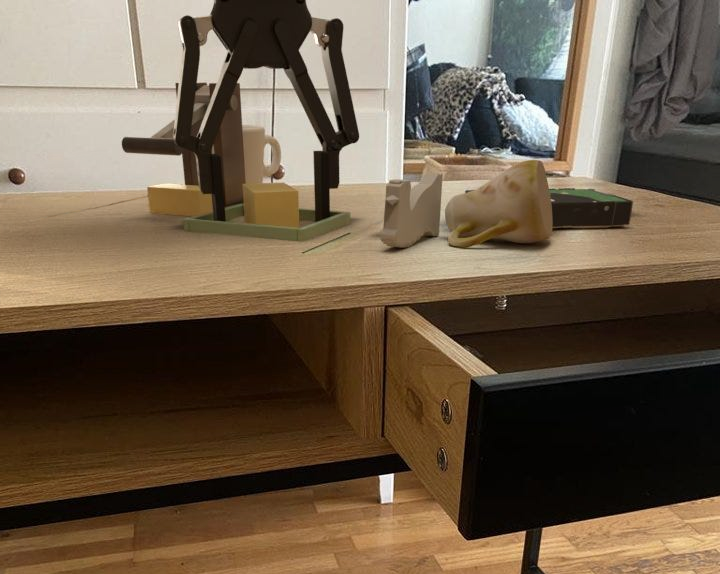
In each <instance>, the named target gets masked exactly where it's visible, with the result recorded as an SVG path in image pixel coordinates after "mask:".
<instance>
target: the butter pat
mask: <svg viewBox="0 0 720 574" xmlns="http://www.w3.org/2000/svg"><path fill="white" fill-rule="evenodd" d="M299 199H300V198H299V190H298V189H296V188H294V187H293V186H291V185H289V184H287V183H285V182H262V183H252V184H243V200H244V216H243V217H244V223H248V224H260V225H272V226H284V227H296V228H300V220H299V208H300V205H299V204H300V202H299Z"/></svg>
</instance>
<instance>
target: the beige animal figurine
mask: <svg viewBox="0 0 720 574" xmlns="http://www.w3.org/2000/svg"><path fill="white" fill-rule="evenodd" d="M411 183H412V182H411V180H410V179H399V178H398V179H397V178H395V179H389V180H388V182H387V183H386V185H385V198H384V199H385V200H384V213H383V214H384V216H383V225H382V226H383V228H382V229H381V231H380V233H379V234H380V235H379V239H380V241H381V242H382V244H383V245H386V247H393V248H394V247H395V248H402V249H403V248H410V246H413V244H415V243H416V242H418V241H419V240H420V239H421V237H422V236H427V237H428V236H429V237H436V236H437V237H438V236H440V228H441V227H440V226H441V225H440V224H441V210H442V209H441V206H442V193H443V173H439V172H424V174H423V176H422V177H421V179H420V180H419V182H418V183H417V184H415V185H414V186H413V187H412V184H411Z"/></svg>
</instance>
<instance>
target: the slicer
mask: <svg viewBox="0 0 720 574" xmlns="http://www.w3.org/2000/svg"><path fill="white" fill-rule="evenodd" d="M174 84H175V94H176V97H177V95H178V86H179V82H175V83H174ZM216 84H217V82H210V83H208V82H201V81H200V82H198V81H197V85H196V91H197V90H198V89H200V88H201V87H203V86H204V85H209V91H210V100H211V98H212V95H213V92H214V90H215V87H216ZM241 99H242V97H241V84H240V82H237V84H236V87H235V89H234V92H233V95H232V97H231V100H230V103H229V105H228V108H227V110H226V113H225V116H224V118H223V121H222V123H221V126H220V129H219V131H218V134H217V137H216V139H215V142H214V154H218V155H219V156H221V167H222V180H223V192H224V204H225V208H227V207H231V206H235V205H238V204H244V200H243V184H246V180H245V163H244V146H243V130H242V125H243V115H242V114H243V113H242V100H241ZM202 122H203V119H199V120H198V121H197V122H195V123H194V124H193V125H192V127H191V135H193V136H195V137H197V135H198V132H199V130H200V127H201V124H202ZM211 154H212V150H211ZM181 157H182V158H181V159H182V168H183V180H184V185H194V186H199V184H198V173H197V163H196V156H195V154H194V153H193V152H192V151H190V150H187V149H184V148H183V152H182V154H181Z"/></svg>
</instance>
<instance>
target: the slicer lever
mask: <svg viewBox="0 0 720 574" xmlns="http://www.w3.org/2000/svg"><path fill="white" fill-rule="evenodd" d="M209 103H210V91H209V84H207V85H204V86H203V87H201V88H200V89H198V90H197V91H196V93H195V102H194V110H193V118H192V125H193V124H194V123H195V122H197V121H198V120H199V119H204V116H205V114H206V111H207V108H208V106H209ZM174 122H175V118H174V119H173V120H172V121H170V122H169V123H168V124H166V125H164V127H162V128H160V130H158V131H157V132H156V133H154V134H153V135H152V136H150V137H144V136H143V137H141V136H124V137H123V138H122V140H121V148H122V150H123V152H124V153H126V154H137V155H140V154H141V155H158V156H159V155H160V156H175V157H176V156H179V157H180V156H182V152H183V148H181V147H179V146H178V145H176V144H175V143H174V141H173V131H174Z"/></svg>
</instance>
